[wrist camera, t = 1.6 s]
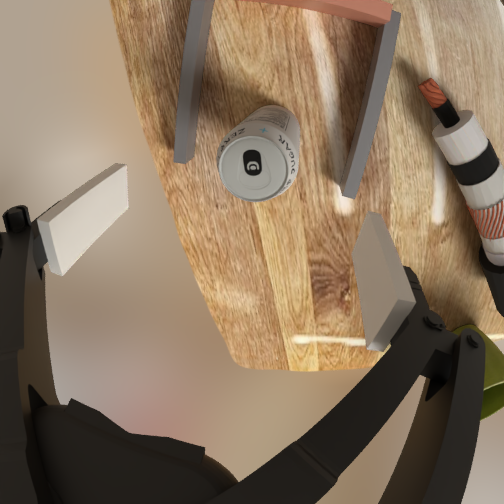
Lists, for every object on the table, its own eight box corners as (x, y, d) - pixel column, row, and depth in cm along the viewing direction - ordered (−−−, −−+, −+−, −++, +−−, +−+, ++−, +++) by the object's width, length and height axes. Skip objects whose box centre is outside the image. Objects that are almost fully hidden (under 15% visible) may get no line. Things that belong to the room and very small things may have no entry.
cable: (420, 75, 28) (472, 52, 18) (513, 262, 36) (556, 277, 26) (376, 114, 29) (431, 92, 19) (484, 307, 36) (527, 329, 26)
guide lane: (204, -15, 23) (189, -27, 19) (393, 17, 22) (407, 10, 18) (182, 154, 35) (166, 167, 31) (351, 189, 34) (357, 206, 30)
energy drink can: (250, 155, 34) (217, 211, 22) (244, 106, 31) (203, 131, 19) (301, 153, 33) (299, 209, 21) (298, 102, 30) (295, 124, 18)
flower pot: (458, 301, 41) (489, 378, 28) (505, 315, 41) (534, 380, 28) (413, 355, 49) (427, 428, 36) (463, 363, 49) (479, 425, 36)
